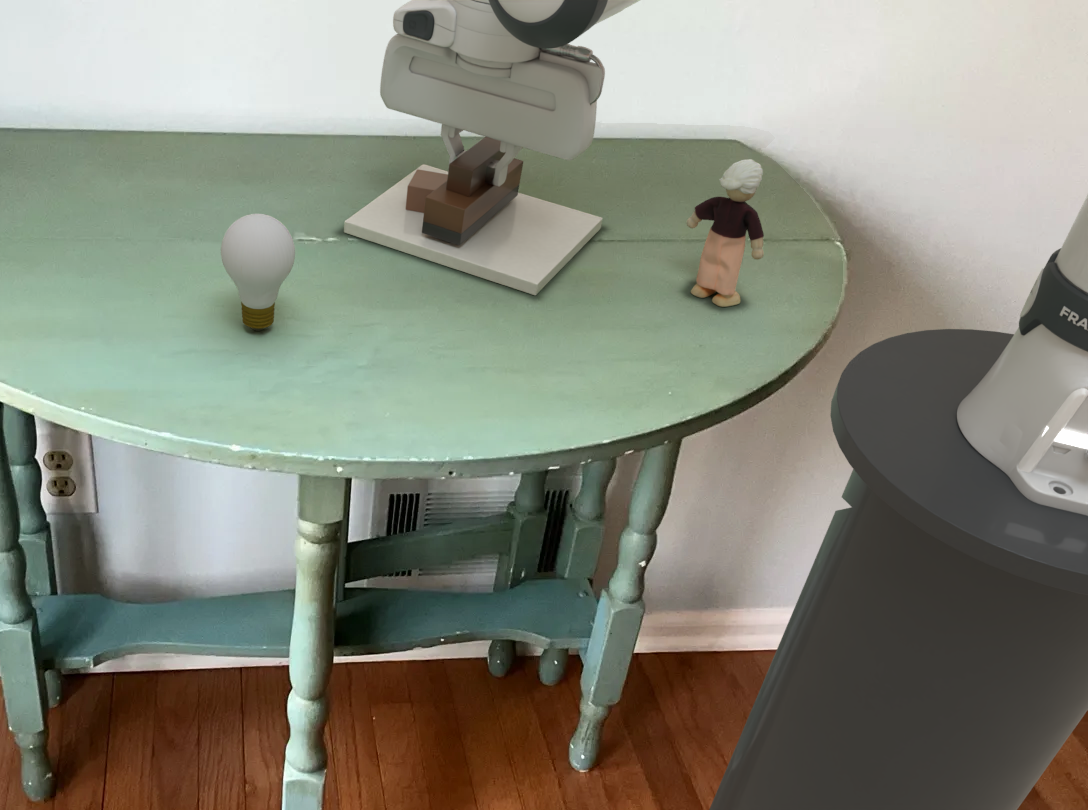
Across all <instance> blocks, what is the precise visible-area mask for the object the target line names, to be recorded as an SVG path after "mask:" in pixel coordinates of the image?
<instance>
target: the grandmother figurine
mask: <svg viewBox="0 0 1088 810" xmlns="http://www.w3.org/2000/svg"><path fill="white" fill-rule="evenodd" d="M763 175H764V169H763V168H762V164H760V163H758V162H757V161H755V160H754V159H751V158H750V159H749V158H748V159H741V160H739V161H736V162H734V163H732V164H731V165H730V166H729V167H728V168H727V169H726V170H725V171H724V172H723V175H722V177H721V178H719V179H718V181H719V182H720V186H721V188H723V189H725V192H726V195H727V197H725V196H713V197H711V198H708V199H706V200H703V201H702V202H700V203H699V204H697V205H695V206H694V211H693V212H692V213H691V216H689V217H688V218H687V219H686V222H685V223H686V226H687V227H688V228H690V229H695V228H697V226H698V225H699V223H700V222H702V221H713V223H712V225H711V226H710V228H709V231H708V233H707V236H706V239H705V241H704V245H703V248H702V251H701V255H700V259H699V265H698V270H697V274H696V281H695V282H696V283H695V284H694V286H693V287H692V288H691V290H690V294H691V295H693V296H694V297H697V298H702V299H704V298H708V297H710V296H711V295H714V294H715V293H716V292H717V294H716V295H714V296H713V297H712V299H711V302H712V303H713V304H714V305H716V306H718V307H721V308H724V307H731V306H737V305H739V304H740V303H741V299H742V298H741V295H740V294H739V292H738V291H737V290H736V288H737V284H738V281H739V276H740V271H741V266H742V262H743V258H744V254H745V249H746V237H747V236H746V235H747V234H748V238H749V241H750V247H751V253H750V255H751V257H752V259H754V260H757V261H759V260H761V259H762V258H764V255H765V252H764V249H763V248H764V236H765V233H764V230H763V227H762V222H761V219H760V217H759V213H758V212H757V211H756V209H755V208H754V207H752V205H750V204H749V203H747V201H749V200H751V199H752V198H754V196H755V194H756V192H757V190H758V188H759V186H760V184H761V182H762V181H763V178H762V177H763Z"/></svg>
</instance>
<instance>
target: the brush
mask: <svg viewBox="0 0 1088 810" xmlns="http://www.w3.org/2000/svg"><path fill="white" fill-rule="evenodd" d="M500 144H501V141H499V140H496V139H492V138H489V137H485V136H483V138H482V139H480V140H479V141H478V142H476V143H475V144H474V145H472V146H471V147H470V148H468V149H467V150H465V151H466V152H465V153H463V154H462V155H461V156H459V157H458V158H457V159H455V160H454V161H453V162H451V163H450V164H449V163H448V167H449V170H448V169H447V170H448V178H447V181H446V182H445V183H443V184H442V185H441V186H439V187H438V188H437V189H436V190H434V191H433V192H432V193H430V194H429V195H428V196H426V199H425V208H424V217H423V226H422V233H424V234H427V235H429V236H432V237H435V238H438V239H441V240H444V241H447V242H450V243H453V244H456V245H461V244H462V243H463V242H464V241H466V240H467V239H468V238H469V237H470V236H471V235H472V234H474V233H475V232H476V231H477V230H478V229H479V228H481V227H482V226H483V225H484V224H485V223H486V222H487V221H489V220H490V219H491V218H492V217H493V216H494V215H495V214H497V213H498V212H499V211H500V210H501V209H502V208H504V207H505V206H506V205H507V204H508V203H509V202H510V201H512V200H513V199H514V198H515V197H516V196H517V195H518V193H519V190H520V184H521V179H522V172H523V166H524V160H522V159H520V158H516V157H515V158H514V159H513V160H512V161H511V163H510V164H508V169H507V176H506V180H505V182H504V183H503V184H502V185H501V186H495V185H492V184H489V183H486V182H485V176H486V168H487V165H489V164H490V163H492V161H494V160H499V161H500V160H501V158H502V157H503V156H504V155H505V153H503V152H501V151H500Z"/></svg>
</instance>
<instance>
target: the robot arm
mask: <svg viewBox="0 0 1088 810" xmlns="http://www.w3.org/2000/svg"><path fill="white" fill-rule="evenodd" d="M640 1H641V0H409V1H407V2H406V3H404V4H402V5H401V6H399V8H397V9H396V10H395V11H394V12H393V17H392V26H393V30H394V33H396V34H395V35H393V36H391V38H390V39H389V41H388V43H387V45H386V47H385V52H384V56H383V62H382V67H381V74H380V83H379V84H380V85H379V96H380V98H381V100H382V102H383V104H384V106H385V107H386V109H389V110H391V111H395V112H399V113H401V114H406V115H409V116H413V117H417V118H421V119H423V120H426V121H431V122H433V123H437V124H441V128H440V137H441V139H442V141H443V143H444V146H445V149H446V151H447V153H448V155H449V159H448V165H449V164H450V163H451V162H453V161H454V160H455V159H457V158H458V157H459V156H461V155H462V154H463V153H465V152H466V151H467V150H465V147H464V144H463V140H462V137H461V134H460V133H462V132H463V131H465V132H468V133H471V134H475V135H478V136H482V137H489V138H492V139H496V140H499V141H501V144H500V151H501V152H503V153H505V155H504V156H503V157H502V158H501V160H500V161H499V160H494V161H492V163H490V164H489V165H487V168H486V176H485V182H486V183H489V184H492V185H495V186H501V185H502V184H503V183H504V182H505V180H506V176H507V169H508V164H510V163H511V161H512V160H513V159H514V158H516V157H517V155H518V154H519V153H520V152H521V151H522V149H527V150H531V151H533V152H537V153H541V154H544V155H547V156H552V157H555V158H557V159H561V160H565V161H573V160H574V159H576V158H577V157H579V156H581V155H582V154H583V153H584V152H586V151H587V150H588V149H589V148H590V147H591V145H592V144H593V141H594V137H595V131H596V121H597V109H598V100H599V98H600V97H601V95H602V92H603V87H604V83H605V77H606V70H605V66H604V65H603V62H602V61H601V60H600V58H599V57H598V56H596V55H595V54H593V53H594V51H593V50H592V49H590V48H589V47H587V46H582V45H573V44H571V43H572V42H573V41H575V40H576V39H578V38H579V37H581V36H582V35H583V34H585V33H586V32H587V31H589V30H590V29H591V28H592V27H594V26H595V25H598V24H599V23H601V22H603V21H605V20H607V19H609V18H611V17H613V16H616V15H618V14H619V13H621V12H622V11H624V10H626V9H628V8H629V7H631V6H633V5H634V4H636V3H639V2H640ZM592 61H593V62H592ZM447 170H449V166H448V169H447ZM1013 334H1014V336H1013V337H1012V339H1011V340H1010V342H1009V343H1008V345H1007V346H1006V348H1005V349H1004V351H1003V352H1002V354H1001V355H1000V357H999V358H998V359H997V361H996V362H995V364H994V365H993V366H992V368H991V369H990V370H989V372H988V373H987V374H986V375H985V376H984V378H983V379H982V380H981V381H980V383H979V384H978V385H977V386H976V387H975V388H974V389H973V390H972V391H971V392H970V393H969V394H968V395H967V396H966V397H965V398H964V399H963V400H962V402H961V403H960V404H959V407H958V409H957V421H958V425H959V427H960V430H961V432H962V433H963V435H964V436H965V438H966V439H967V440H968V442H969V443H970V444H971V445H972V446H973V447H974V448H975V449H976V450H977V451H978V452H979V453H980V454H981V455H982V456H984V457H985V458H986V459H987V460H989V461H990V462H991V463H993V464H994V465H996V466H997V467H998V468H1000V469H1001V470H1002V471H1003V472H1005V473H1006V474H1007V475H1008V476H1009V478H1010V479H1011V481H1012V482H1013V483H1014V485H1015V486H1016V487H1017V489H1018V490H1019V491H1020V492H1021V493H1022V494H1023V495H1024V496H1025V497H1026V498H1027V499H1029V500H1031V501H1032V502H1035V503H1037V504H1041V505H1045V506H1049V507H1053V508H1057V509H1061V510H1066V511H1070V512H1074V513H1078V514H1082V515H1087V516H1088V194H1086V196H1085V199H1084V201H1083V203H1082V205H1081V207H1080V209H1079V211H1078V213H1077V215H1076V217H1075V219H1074V222H1073V223H1072V224H1071V228H1070V229H1069V232H1068V233H1067V236H1066V238H1065V239H1064V242H1063V243H1062V246H1061V248H1058V249H1056V250H1055V251H1054V252H1052V254H1051V255H1050V257H1049V258H1048V259H1047V262H1046V264H1045V265H1044V267H1043V268H1041V270H1040V271H1039V273H1038V276H1037V277H1036V280H1035V282H1034V283H1033V286H1032V287H1031V290H1030V292H1029V294H1028V296H1027V298H1026V299H1025V303H1024V305H1023V307H1022V309H1021V311H1020V314H1019V320H1018V328H1017V329H1016V331H1015V332H1014V333H1013Z"/></svg>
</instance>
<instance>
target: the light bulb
mask: <svg viewBox="0 0 1088 810" xmlns="http://www.w3.org/2000/svg"><path fill="white" fill-rule="evenodd" d="M220 256H221V257H220V258H221V263H222V266H223V268H224V270H225V272H226V274H227V275H228V276H229V278H230V279H231V280H232V283H234V285H235V287H236V289H237V292H238V297H239V300H240V305H241V321H242V323H243V325H245V326H246V327H248V328H250V329H251V330H253V331H255V332H261V331H263V330H264V329H266V328H268V327H269V328H270V327H271V326H272V325H273V324H274V321H275V320H274V319H275V310H276V307H275V306H276V301H277V298H278V295H279V290H280V288H281V286H282V284H283V283H284V281H285V280H286V279H287V278H288V276H289V275H290V274H291V272H292V270H293V267H294V264H295V259H296V246H295V242H294V238H293V236H292V235H291V232H290V231H289V229H288V228H287V227H286V225H285V224H284V223H282V222H281V221H280V220H278V219H277V218H275V217H274V216H271V215H268V214H265V213H251V214H246V215H244V216H241V217H239V218H237V219H236V220H234V221H233V223H232V224H231V225H230V226H229V227H228V228H227V230H226V231H225V232H224V235H223V238H222V240H221V245H220Z"/></svg>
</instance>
